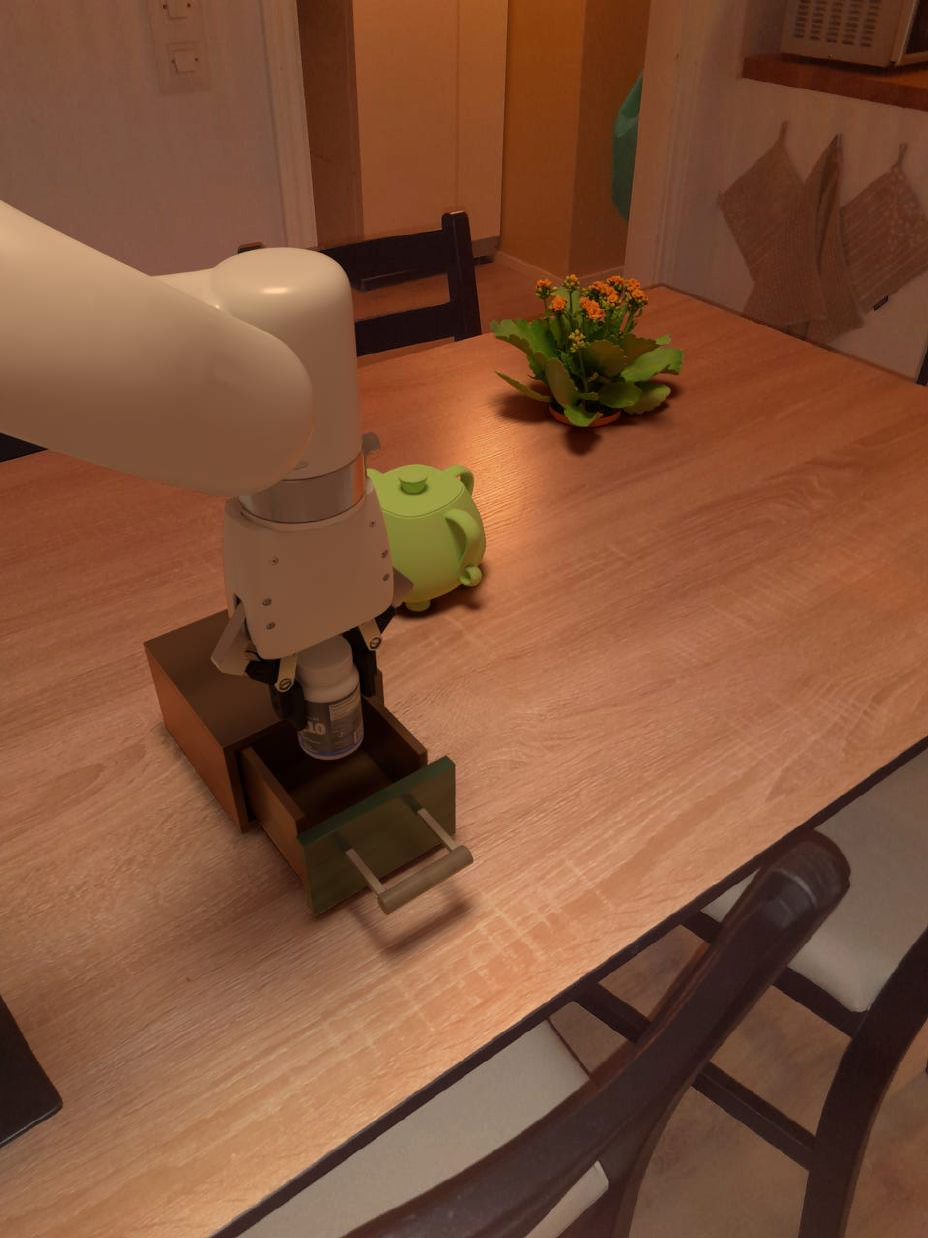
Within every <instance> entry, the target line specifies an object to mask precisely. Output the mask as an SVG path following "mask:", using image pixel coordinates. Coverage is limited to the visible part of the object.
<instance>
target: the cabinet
mask: <svg viewBox="0 0 928 1238" xmlns="http://www.w3.org/2000/svg"><path fill="white" fill-rule="evenodd" d="M229 621H230V618H229V614H228V608H225V609H223V610H220V611H218V612H216V613H213V614H210V615H208V616H206V617H202V618H200V619H198V620H195V621H193V622H190V623H188V624H185V625H183V626H181V627H178V628H176V629H173V630H170V631H168V632H166V633H163V634H161V635H157V636H156V637H153V638H151V639H148V640H146V641H143V643H142V644H143V647H144V652H145V656H146V659H147V663H148V666H149V670H150V674H151V677H152V681H153V685H154V688H155V693H156V696H157V700H158V703H159V707H160V710H161V715H162V718H163V722H164V725H165V728H166V729H167V730H168V732H169V733H170V735H171V736H172V737H173V739H174V740H175V742H176V743H177V745H178V746H179V748H180V749H181V751H182V753H184V755H185V756H186V757H187V759H188V760H189V762H190V763H191V764H192V766H193V767H194V769H195V770H196V772H197V773H198V774H199V776H200V777H201V779H202V780H203V781H204V783H205V784H206V786H207V787H208V788H209V790H210V791H211V793H212V794H213V796H214V797H215V799H216V800H217V801H218V803H219V804H220V805H221V807H222V809H223V810H224V812H226V814H227V815H228V817H229V819H231V821H232V823H233V824H234V825H235V826H236V828H237V830H238V831H239V832H240V833H241V834H244V833H246V832H248V831H249V830H252V829H254V828H255V827H257V826H259V825H261V824H260V823H259V821H258V820H257V819H256V817H255V816H254V814H253V813H252V812H251V810H250V809H249V808H248V806H247V805H246V804H245V800H244V796H243V791H242V786H241V781H240V776H239V772H238V767H237V762H236V757H235V753H234V751H235V750H237V749H239V748H241V747H243V746H246V745H248V744H250V743H252V742H254V741H256V740H258V739H260V738H262V737H264V736H266V735H269V734H271V733H273V732H275V731H277V730H279V729H281V728H283V727H285V726H287V725H289V724H291V723H290V722H289V720H288V719H287V718H285V719H283V720H281V719H280V718H279V717H278V716H277V714H276V713H275V711H274V709H273V707H272V703H271V697H270V691H269V685H268V684H265V683H262V682H259V681H256V680H253V679H251V678H250V677H249V676H244V675H243V676H238V675H232V674H226V673H222V672H221V671H220V670H219V669H218V668H217V667H216V665H215V664H214V663H213V662H212V660H211V656H212V653H213V651H214V650H215V648H216V646H217V644H218V642H219V640H220V638H221V636H222V634H223V632H224V630H225V628H226V627H227V625H228V623H229ZM338 635H340V636H342V633H340V634H338ZM342 637H343V636H342ZM247 650H250V651H253V652H256V653H258V651H257V648H256V645H254V644H253V641H252V639H251V640H250V642H249V644H248V646H247V648H246V650H245V651H247ZM383 677H384V676H383V672H382V671H381V670H380V669H379V667H377V675H376V676H375V687H376V695H374V696H375V697H376V698H377V699H378V700H379V701H380V702H381V703H382V704H383V705H384V706H385V694H384V678H383Z"/></svg>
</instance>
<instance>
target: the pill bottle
mask: <svg viewBox="0 0 928 1238" xmlns="http://www.w3.org/2000/svg"><path fill="white" fill-rule="evenodd" d="M294 678H295V679H296V680H297V681H298V682H299V683H300V685H301V686H302V688H303V694H304V701H305V708H306V716H307V723H308V726H306V729H304V730H302V731H300V732H298V731H297V734H298V740H299V743H300V745H301V747H302V749H303V750H304V751H305V752H306V753H308V754H309V755H311V756H312V757H314V758H317V759H323V760H334V759H339V758H342V757H345V756H347V755H349V754H350V753H352V752H353V751H355V750H356V749H357V748H358V747H359V746H360V744H361V742H362V739H363V734H364V733H363V718H362V704H361V694H360V680H359V672H358V669H357V667H356V665H355V664H354V663H353V659H352V650H351V646H350V644H349V642H348V641H347V640H346V639H345V638H343V637H342V636H340V635H336V636H334V637H331V638H329V639H327V640H324V641H322V642H320V643H318V644H315V645H313V646H311V647H308V648H306V649H304V650H301V651H299V652H298V657H297V664H296V670H295V677H294Z"/></svg>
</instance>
